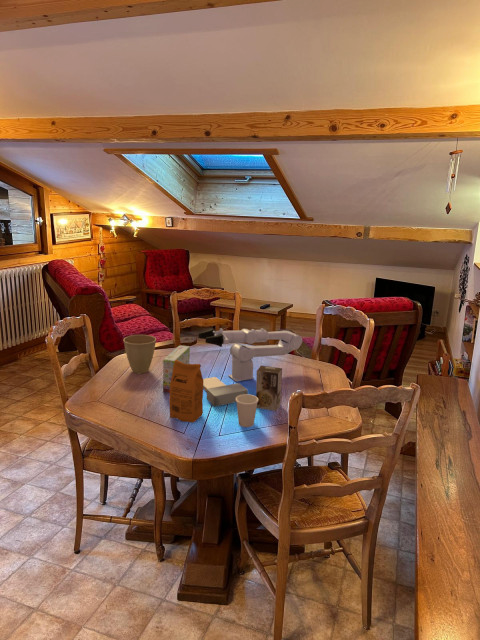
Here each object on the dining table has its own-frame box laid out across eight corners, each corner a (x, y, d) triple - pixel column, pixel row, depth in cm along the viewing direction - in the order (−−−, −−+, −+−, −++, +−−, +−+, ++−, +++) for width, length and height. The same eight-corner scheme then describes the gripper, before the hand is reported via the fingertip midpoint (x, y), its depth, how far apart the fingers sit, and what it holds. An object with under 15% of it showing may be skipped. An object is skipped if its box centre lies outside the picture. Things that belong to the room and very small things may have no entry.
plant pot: (133, 379, 210) (132, 345, 206) (119, 369, 221) (118, 337, 217) (162, 372, 219) (161, 340, 215) (147, 363, 230) (146, 332, 226)
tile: (215, 381, 212) (215, 376, 211) (228, 391, 201) (228, 387, 200) (197, 384, 208) (197, 379, 207) (209, 395, 197) (209, 390, 196)
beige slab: (238, 392, 199) (238, 383, 197) (247, 399, 192) (247, 389, 191) (206, 398, 192) (206, 388, 190) (214, 406, 185) (214, 396, 184)
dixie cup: (259, 428, 169) (260, 402, 166) (237, 429, 167) (238, 404, 164) (254, 417, 176) (255, 393, 174) (233, 419, 175) (233, 394, 172)
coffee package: (179, 407, 183) (179, 355, 177) (206, 414, 178) (207, 360, 172) (164, 417, 174) (164, 362, 169) (192, 425, 169) (192, 369, 163)
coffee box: (280, 405, 188) (282, 367, 184) (276, 411, 182) (278, 373, 178) (259, 401, 191) (261, 364, 186) (254, 407, 185) (256, 370, 181)
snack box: (175, 394, 196) (174, 360, 192) (162, 392, 197) (161, 359, 193) (190, 376, 216) (190, 345, 212) (178, 375, 217) (178, 344, 213)
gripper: (223, 324, 213) (196, 324, 206) (238, 332, 200) (210, 333, 194) (222, 339, 214) (195, 340, 208) (236, 348, 202) (208, 349, 195)
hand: (202, 337), depth 201 cm, fingers open, 7 cm apart
